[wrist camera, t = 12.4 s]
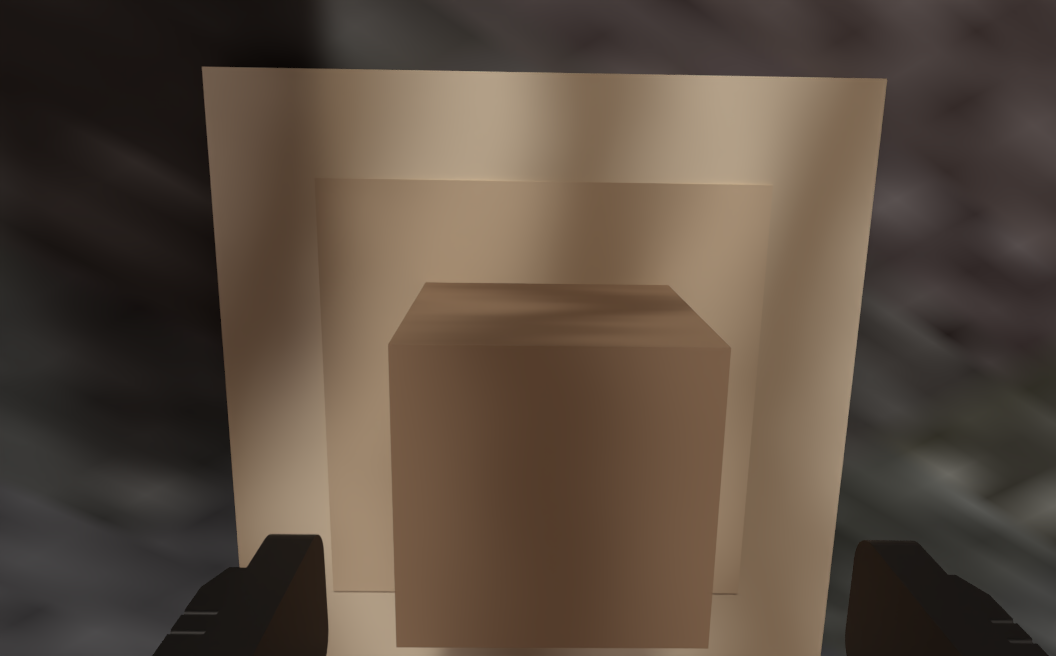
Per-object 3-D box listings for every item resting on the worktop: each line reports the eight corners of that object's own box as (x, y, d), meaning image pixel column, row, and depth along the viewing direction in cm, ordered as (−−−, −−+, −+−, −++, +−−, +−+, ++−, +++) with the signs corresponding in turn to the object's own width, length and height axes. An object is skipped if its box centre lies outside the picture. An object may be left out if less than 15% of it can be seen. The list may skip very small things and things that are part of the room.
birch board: (868, 81, 20) (888, 78, 19) (806, 649, 24) (819, 673, 23) (217, 69, 20) (200, 66, 19) (258, 646, 23) (246, 670, 22)
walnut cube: (668, 285, 20) (730, 347, 14) (655, 507, 21) (708, 648, 16) (425, 282, 20) (388, 344, 14) (429, 506, 21) (396, 647, 15)
